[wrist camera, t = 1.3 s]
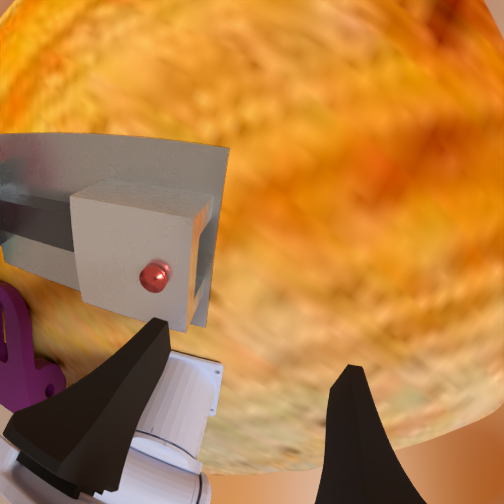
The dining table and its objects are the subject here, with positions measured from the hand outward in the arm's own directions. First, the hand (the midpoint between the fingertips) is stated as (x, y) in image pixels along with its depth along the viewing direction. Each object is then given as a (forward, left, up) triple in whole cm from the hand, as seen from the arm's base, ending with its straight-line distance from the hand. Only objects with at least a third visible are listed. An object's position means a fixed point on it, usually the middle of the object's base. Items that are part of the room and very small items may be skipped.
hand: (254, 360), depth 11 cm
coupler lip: (-1, +16, -10) cm, 19 cm away
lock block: (-1, +8, -10) cm, 13 cm away
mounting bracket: (-20, +29, -10) cm, 36 cm away
